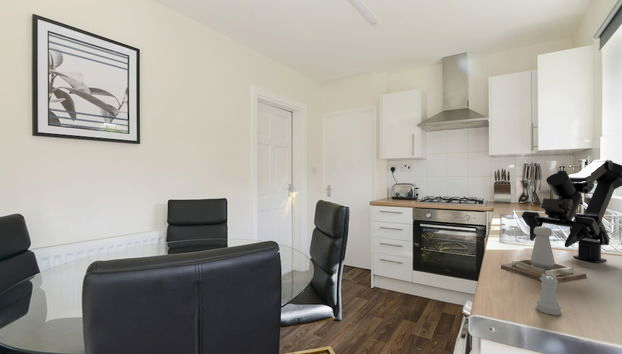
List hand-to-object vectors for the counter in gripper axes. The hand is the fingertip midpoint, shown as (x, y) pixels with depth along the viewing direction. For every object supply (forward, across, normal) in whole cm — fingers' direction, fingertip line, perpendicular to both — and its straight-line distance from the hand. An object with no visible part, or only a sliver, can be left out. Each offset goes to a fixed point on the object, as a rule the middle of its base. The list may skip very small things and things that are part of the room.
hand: (547, 243), depth 89 cm
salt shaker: (+8, 0, +3) cm, 8 cm away
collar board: (+8, 0, +4) cm, 9 cm away
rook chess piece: (+28, +14, -16) cm, 35 cm away
